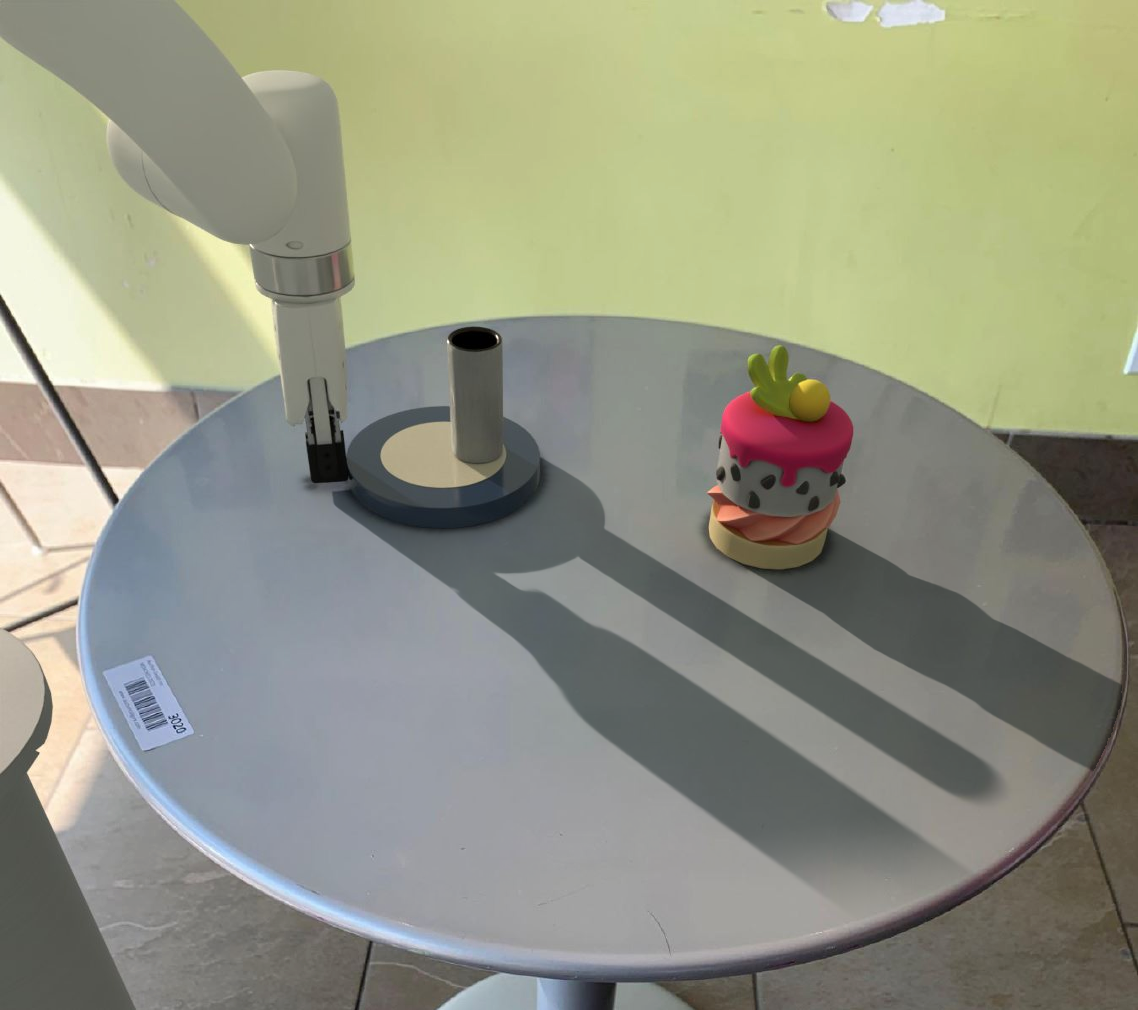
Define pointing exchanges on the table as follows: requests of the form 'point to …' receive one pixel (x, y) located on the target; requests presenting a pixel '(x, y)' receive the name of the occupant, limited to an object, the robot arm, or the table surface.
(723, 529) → the cake
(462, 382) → the planter
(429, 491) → the plate
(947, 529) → the table surface
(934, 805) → the table surface
